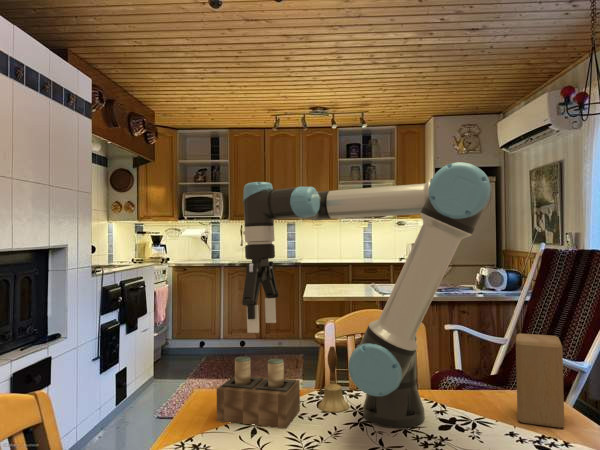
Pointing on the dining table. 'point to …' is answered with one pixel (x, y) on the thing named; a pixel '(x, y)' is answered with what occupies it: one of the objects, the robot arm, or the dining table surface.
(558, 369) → the block
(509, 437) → the dining table surface
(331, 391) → the hand bell
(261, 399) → the socket block
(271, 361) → the peg
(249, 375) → the peg
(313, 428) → the dining table surface
